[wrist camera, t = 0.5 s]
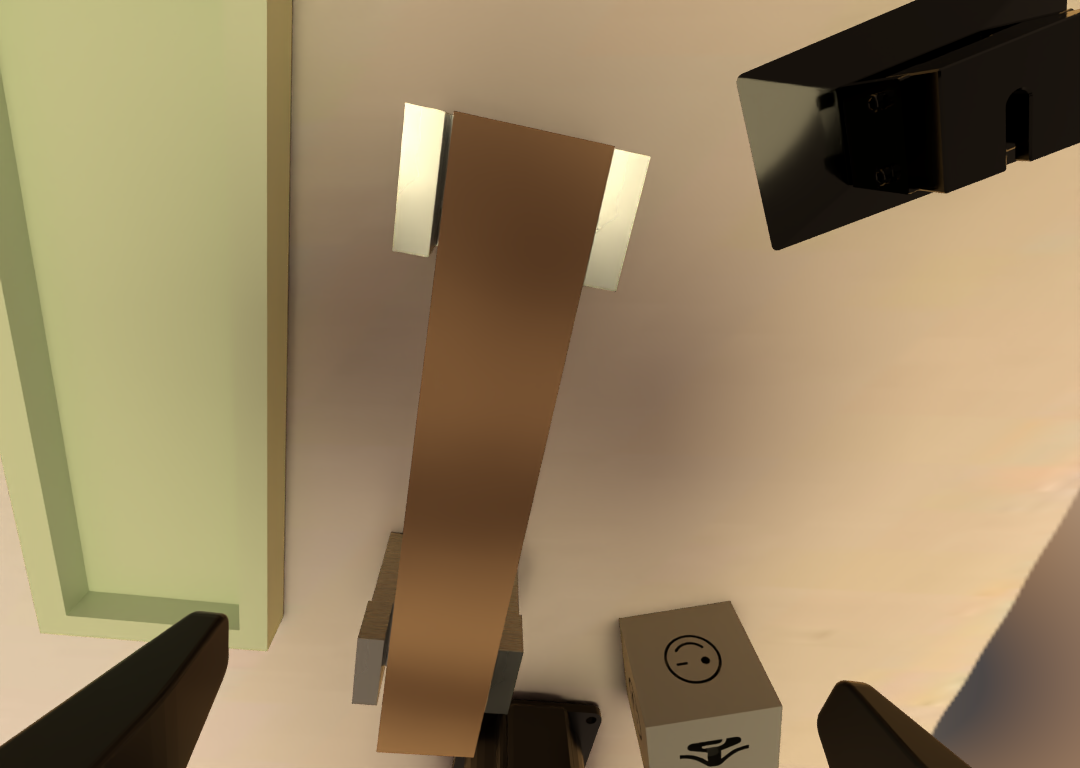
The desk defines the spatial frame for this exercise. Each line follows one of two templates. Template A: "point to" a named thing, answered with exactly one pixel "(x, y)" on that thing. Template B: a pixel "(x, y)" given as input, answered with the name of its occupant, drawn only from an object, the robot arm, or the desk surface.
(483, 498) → the rail
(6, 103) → the tray
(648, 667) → the dice cube
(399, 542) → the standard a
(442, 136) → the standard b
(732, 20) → the desk surface
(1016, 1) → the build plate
